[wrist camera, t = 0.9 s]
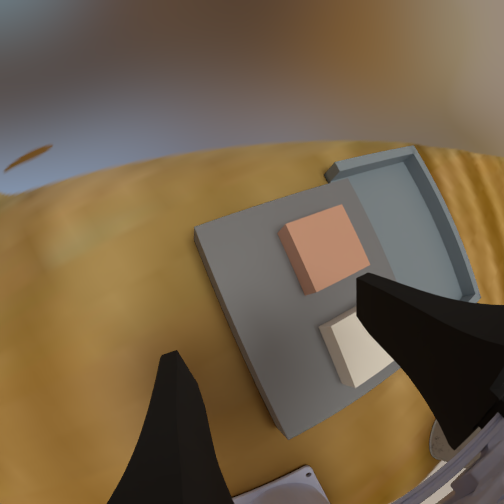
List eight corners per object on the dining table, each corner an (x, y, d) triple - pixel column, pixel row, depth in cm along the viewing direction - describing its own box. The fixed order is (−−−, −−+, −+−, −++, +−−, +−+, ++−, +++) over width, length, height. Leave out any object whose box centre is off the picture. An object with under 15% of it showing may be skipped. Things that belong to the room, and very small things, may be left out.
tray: (466, 300, 28) (480, 297, 25) (403, 358, 24) (420, 359, 22) (402, 155, 31) (413, 145, 28) (323, 174, 27) (334, 162, 25)
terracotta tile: (356, 270, 22) (370, 264, 20) (305, 295, 20) (316, 292, 18) (330, 213, 23) (341, 204, 21) (277, 233, 21) (285, 224, 19)
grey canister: (475, 428, 24) (541, 437, 12) (431, 472, 21) (502, 497, 9) (470, 375, 25) (547, 375, 14) (424, 420, 23) (511, 438, 11)
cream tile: (388, 351, 21) (404, 352, 19) (341, 383, 19) (355, 388, 17) (368, 298, 21) (383, 295, 19) (318, 326, 20) (330, 326, 18)
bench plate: (400, 349, 24) (421, 350, 21) (276, 427, 20) (288, 439, 17) (333, 192, 27) (347, 178, 24) (193, 239, 23) (194, 227, 20)
